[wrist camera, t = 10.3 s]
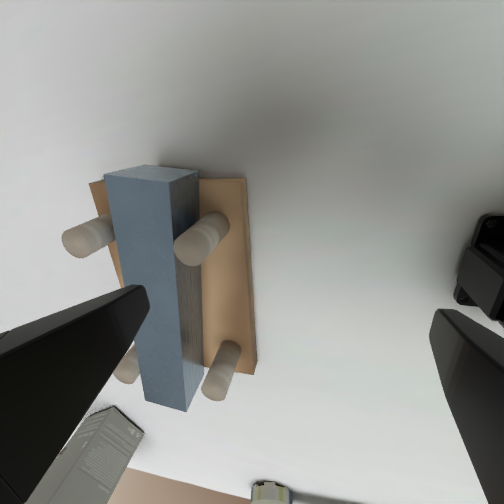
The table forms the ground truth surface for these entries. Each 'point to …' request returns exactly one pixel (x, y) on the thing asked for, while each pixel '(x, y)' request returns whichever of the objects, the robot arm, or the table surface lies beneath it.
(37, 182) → the table surface
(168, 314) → the steel bar
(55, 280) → the table surface
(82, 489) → the skincare box
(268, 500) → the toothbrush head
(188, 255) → the peg rack
